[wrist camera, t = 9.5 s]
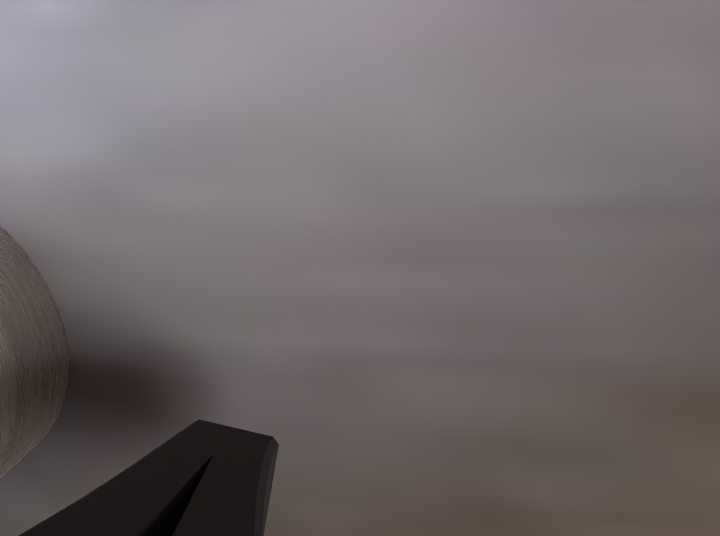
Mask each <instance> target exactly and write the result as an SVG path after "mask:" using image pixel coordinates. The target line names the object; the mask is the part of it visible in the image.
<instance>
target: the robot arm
mask: <svg viewBox="0 0 720 536" xmlns="http://www.w3.org/2000/svg"><path fill="white" fill-rule="evenodd" d="M278 446H279V445H278V443H277V442H276V440H275V439H274V437H272V436H267V435H263V434H259V433H254V432H250V431H246V430H242V429H237V428H233V427H229V426H224V425H220V424H216V423H212V422H207V421H203V420H198V421H196V422H194V423H193V424H191V425H190V426H188V427H187V428H185V429H184V430H182V431H181V432H179V433H178V434H176V435H175V436H174V437H172V438H171V439H169V440H168V441H166V442H165V443H164V444H162V445H161V446H159V447H158V448H156V449H155V450H154V451H152V452H151V453H149V454H148V455H146V456H145V457H143V458H142V459H141V460H139V461H138V462H136V463H135V464H133V465H132V466H130V467H129V468H127V469H126V470H124V471H123V472H121V473H120V474H118V475H117V476H115V477H114V478H112V479H110V480H109V481H107V482H106V483H104V484H103V485H101V486H100V487H98V488H97V489H95V490H94V491H92V492H91V493H89V494H87V495H86V496H84V497H83V498H81V499H80V500H78V501H76V502H75V503H73V504H71V505H70V506H68V507H66V508H65V509H63V510H61V511H60V512H58V513H56V514H54V515H53V516H51V517H49V518H48V519H46V520H44V521H43V522H41V523H39V524H38V525H36V526H34V527H33V528H31V529H29V530H27V531H26V532H24V533H22V534H21V535H19V536H263V535H264V529H265V523H266V517H267V511H268V505H269V499H270V493H271V487H272V481H273V476H274V470H275V464H276V458H277V452H278Z"/></svg>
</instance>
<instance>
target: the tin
mask: <svg viewBox="0 0 720 536" xmlns="http://www.w3.org/2000/svg"><path fill="white" fill-rule="evenodd" d="M68 375H69V357H68V346H67V341H66V335H65V330H64V326H63V323H62V320H61V317H60V314H59V310H58V308H57V306H56V303H55V301H54V299H53V297H52V294H51V292H50V290H49V288H48V286H47V284H46V283H45V281H44V279H43V278H42V276H41V274H40V272H39V271H38V269H37V268H36V266H35V265H34V264H33V262H32V261H31V259H30V258H29V257H28V255H27V254H26V253H25V251H24V250H23V249H22V248H21V247H20V245H19V244H18V243H17V242H16V241H15V240H14V239H13V238H12V237H11V236H10V235H9V233H8V232H7V231H6V230H4V229H3V228H2V227H1V226H0V478H1V477H2V476H4V475H5V474H6V473H7V472H8V471H9V470H10V469H11V468H12V467H14V466H15V465H16V464H17V463H18V462H19V461H20V460H21V459H22V458H23V457H25V456H26V455H27V454H28V453H29V452H30V451H31V450H32V449H33V448H34V447H36V446H37V444H38V443H39V442H40V441H41V440H42V439H43V438H44V437H45V436H46V435H47V434H48V432H49V431H50V429H51V427H52V426H53V424H54V423H55V421H56V420H57V417H58V415H59V413H60V410H61V408H62V406H63V403H64V399H65V395H66V391H67V385H68Z"/></svg>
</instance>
